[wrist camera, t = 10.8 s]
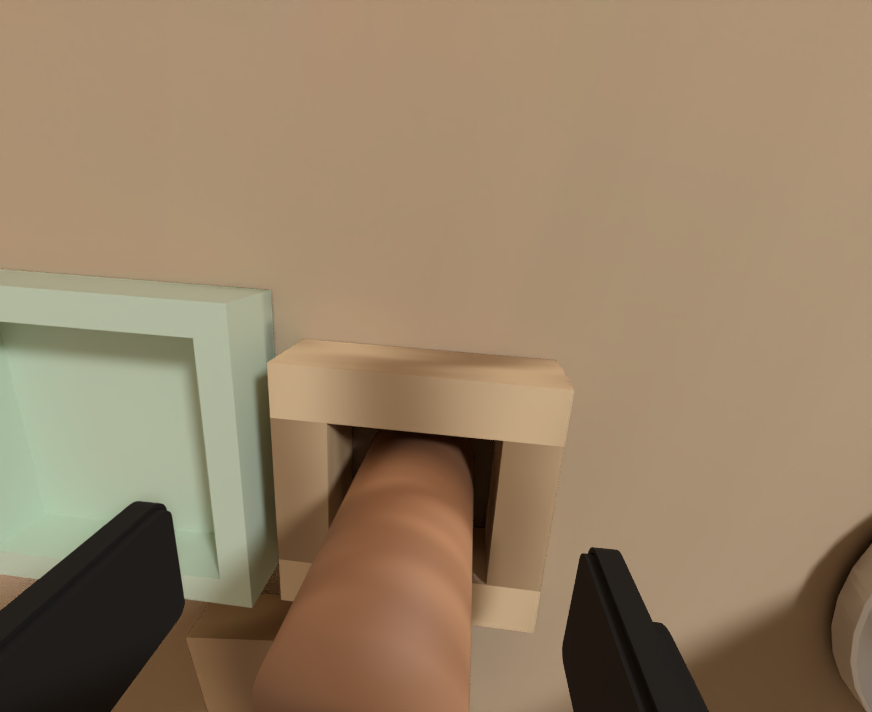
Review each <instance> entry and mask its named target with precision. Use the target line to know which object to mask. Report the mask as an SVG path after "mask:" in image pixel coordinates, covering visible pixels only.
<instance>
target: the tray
mask: <svg viewBox="0 0 872 712" xmlns="http://www.w3.org/2000/svg"><path fill="white" fill-rule="evenodd" d="M273 358H275V351H274V332H273V314H272V296H271V290H265V289H252V288H239V287H226V286H213V285H200V284H187V283H174V282H161V281H147V280H134V279H121V278H108V277H95V276H82V275H69V274H56V273H43V272H30V271H17V270H4V269H0V574H2V575H10V576H17V577H25V578H32V579H40V578H41V577H42V576H43V575H45V574H46V573H47V572H48V571H49V570H51V569H52V568H53V567H54V566H56V565H57V564H58V563H59V562H60V561H62V560H63V559H64V558H65V557H66V556H68V555H69V554H70V553H71V552H73V551H74V550H75V549H76V548H77V547H79V546H80V545H81V544H82V543H84V542H85V541H86V540H87V539H88V538H90V537H91V536H92V535H93V534H94V533H96V532H97V531H98V530H99V529H101V528H102V527H103V526H104V525H105V524H107V523H108V522H109V521H110V520H112V519H113V518H114V517H115V516H116V515H118V514H119V513H120V512H121V511H122V510H124V509H125V508H126V507H127V506H129V505H130V504H131V503H133V502H136V501H143V502H153V503H161V504H164V505H165V506H166V509H167V511H170V512H171V514H172V518H173V525H174V532H175V539H176V545H177V552H178V559H179V565H180V572H181V579H182V586H183V592H184V599H189V600H197V601H204V602H212V603H219V604H226V605H234V606H241V607H249V608H252V607H253V606H254V604H255V602H256V601H257V599H258V597H259V596H260V594H261V592H262V591H263V589H264V587H265V586H266V584H267V582H268V580H269V579H270V577H271V575H272V574H273V572H274V570H275V569H276V567H277V565H278V564H279V556H278V539H277V523H276V506H275V490H274V473H273V456H272V440H271V423H270V407H269V390H268V374H267V362H269V361H270V360H272V359H273Z"/></svg>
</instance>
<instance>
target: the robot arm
mask: <svg viewBox="0 0 872 712" xmlns="http://www.w3.org/2000/svg"><path fill="white" fill-rule="evenodd" d="M184 604H185V599H184V592H183V586H182V579H181V572H180V565H179V559H178V552H177V545H176V539H175V532H174V525H173V518H172V514H171V512H170V511H167V509H166V506H165V505H164V504H161V503H153V502H143V501H136V502H133V503H131V504H130V505H129V506H127V507H126V508H125V509H124V510H122V511H121V512H120V513H119V514H118V515H116V516H115V517H114V518H113V519H112V520H110V521H109V522H108V523H107V524H105V525H104V526H103V527H102V528H101V529H99V530H98V531H97V532H96V533H94V534H93V535H92V536H91V537H90V538H88V539H87V540H86V541H85V542H84V543H82V544H81V545H80V546H79V547H77V548H76V549H75V550H74V551H73V552H71V553H70V554H69V555H68V556H66V557H65V558H64V559H63V560H62V561H60V562H59V563H58V564H57V565H56V566H54V567H53V568H52V569H51V570H49V571H48V572H47V573H46V574H45V575H43V576H42V577H41V578H40V579H38V580H37V581H36V582H35V583H34V584H32V585H31V586H30V587H29V588H28V589H26V590H25V591H24V592H23V593H21V594H20V595H19V596H18V597H17V598H15V599H14V600H13V601H12V602H10V603H9V604H8V605H7V606H6V607H4V608H3V609H2V610H1V611H0V712H110V711H111V710H112V709H113V707H114V706H115V705H116V703H117V702H118V701H119V699H120V698H121V697H122V695H123V694H124V693H125V691H126V690H127V688H128V687H129V686H130V684H131V683H132V682H133V680H134V679H135V678H136V676H137V675H138V674H139V672H140V671H141V670H142V668H143V667H144V665H145V664H146V663H147V661H148V660H149V659H150V657H151V656H152V655H153V653H154V652H155V651H156V649H157V648H158V646H159V645H160V644H161V642H162V641H163V640H164V638H165V637H166V636H167V634H168V633H169V632H170V630H171V629H172V628H173V626H174V625H175V623H176V622H177V621H178V619H179V618H180V616H181V614H182V612H183V608H184ZM831 630H832V652H833V655H834V658H835V661H836V664H837V667H838V670H839V673H840V676H841V678H842V679H843V681H844V682H845V684H846V685H847V687H848V688H849V689H850V691H851V692H852V694H853V695H854V697H855V698H856V699H857V701H858V702H859V703H860V704H861V706H862V707H863V708H864V709H865V710H866V712H872V543H871V545H870V546H869V547H868V548H867V550H866V551H865V552H864V554H863V555H862V556H861V557H860V559H859V560H858V561H857V562H856V564H855V565H854V566H853V568H852V570H851V572H850V574H849V576H848V578H847V580H846V582H845V584H844V586H843V588H842V590H841V592H840V594H839V596H838V599H837V603H836V608H835V612H834V616H833V621H832V625H831ZM562 656H563V664H564V669H565V674H566V678H567V683H568V688H569V692H570V697H571V702H572V706H573V711H574V712H709V711H708V709H707V707H706V705H705V703H704V701H703V699H702V697H701V695H700V693H699V690H698V688H697V686H696V684H695V682H694V680H693V678H692V676H691V674H690V672H689V670H688V668H687V666H686V664H685V662H684V660H683V658H682V656H681V654H680V652H679V650H678V648H677V646H676V644H675V642H674V640H673V638H672V636H671V634H670V632H669V631H668V629H667V628H666V627H665V626H664V625H663V624H662V623H658V622H653V621H652V619H651V617H650V615H649V613H648V611H647V609H646V606H645V604H644V602H643V600H642V598H641V596H640V593H639V591H638V589H637V587H636V585H635V583H634V580H633V578H632V576H631V574H630V572H629V570H628V567H627V565H626V563H625V561H624V559H623V557H622V555H621V553H620V552H619V551H618V550H613V549H604V548H594V547H592V548H590V550H589V552H588V554H581V556H580V559H579V564H578V569H577V574H576V579H575V584H574V590H573V595H572V600H571V605H570V610H569V615H568V620H567V625H566V630H565V635H564V640H563V646H562Z"/></svg>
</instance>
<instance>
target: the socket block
mask: <svg viewBox="0 0 872 712" xmlns="http://www.w3.org/2000/svg"><path fill="white" fill-rule="evenodd" d="M267 374H268V390H269V407H270V423H271V440H272V456H273V473H274V490H275V506H276V523H277V539H278V556H279V572H280V589H281V600H286V601H294V599H295V597H296V595H297V593H298V591H299V589H300V587H301V585H302V583H303V581H304V579H305V577H306V575H307V573H308V571H309V569H310V567H311V565H312V563H313V561H314V559H315V556H316V554H317V552H318V550H319V548H320V546H321V544H322V542H323V540H324V538H325V536H326V534H327V532H328V530H329V528H330V526H331V524H332V522H333V520H334V518H335V516H336V514H337V512H338V510H339V508H340V506H341V504H342V502H343V500H344V498H345V496H346V494H347V492H348V490H349V488H350V486H351V484H352V426H359V427H369V428H379V429H389V430H399V431H409V432H419V433H429V434H439V435H449V436H459V437H469V438H479V439H489V440H495V444H494V453H493V462H492V471H491V480H490V489H489V498H488V506H487V515H486V524H485V528H477V527H473V548H472V602H471V625H476V626H484V627H491V628H499V629H507V630H514V631H522V632H529V633H534V628H535V622H536V616H537V610H538V604H539V598H540V592H541V586H542V580H543V574H544V569H545V563H546V557H547V551H548V545H549V539H550V533H551V527H552V521H553V515H554V509H555V503H556V497H557V491H558V485H559V479H560V473H561V467H562V461H563V455H564V449H565V443H566V437H567V431H568V425H569V420H570V414H571V408H572V402H573V396H574V389H573V387H572V385H571V384H570V382H569V380H568V378H567V377H566V375H565V373H564V372H563V370H562V368H561V367H560V365H559V363H558V362H557V360H546V359H534V358H522V357H510V356H498V355H487V354H475V353H463V352H451V351H439V350H428V349H416V348H404V347H392V346H380V345H369V344H357V343H345V342H333V341H321V340H310V339H303V340H301V341H300V342H298V343H297V344H295V345H294V346H292V347H291V348H289V349H287V350H286V351H284V352H283V353H281V354H280V355H278V356H276V357H275V358H273V359H272V360H270V361H269V362H267Z"/></svg>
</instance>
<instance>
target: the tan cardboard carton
mask: <svg viewBox="0 0 872 712" xmlns="http://www.w3.org/2000/svg"><path fill="white" fill-rule="evenodd" d="M292 603H293V601H286V600H281V594H262V593H261V594H260V596H259V597H258V599H257V601H256V602H255V604H254V606H253V607H252V608H249V607H241V606H234V605H226V604H219V603H212V602H210V604H209V605H208V607H207V608H206V609H205V611H204V612H203V614H202V615H201V616H200V618H199V619H198V621H197V622H196V623H195V625H194V626H193V628H192V629H191V630H190V632H189V633H188V635H187V636H186V637H185V638H186V641H187V644H188V648H189V651H190V654H191V658H192V661H193V664H194V668H195V671H196V674H197V678H198V681H199V684H200V688H201V691H202V694H203V698H204V701H205V704H206V708H207V711H208V712H253V706H252V690H253V685H254V681H255V679H256V676H257V674H258V672H259V670H260V668H261V666H262V664H263V662H264V660H265V658H266V656H267V654H268V652H269V650H270V647H271V645H272V643H273V641H274V639H275V637H276V635H277V633H278V631H279V629H280V627H281V625H282V623H283V621H284V619H285V617H286V615H287V613H288V611H289V609H290V607H291V605H292Z"/></svg>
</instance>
